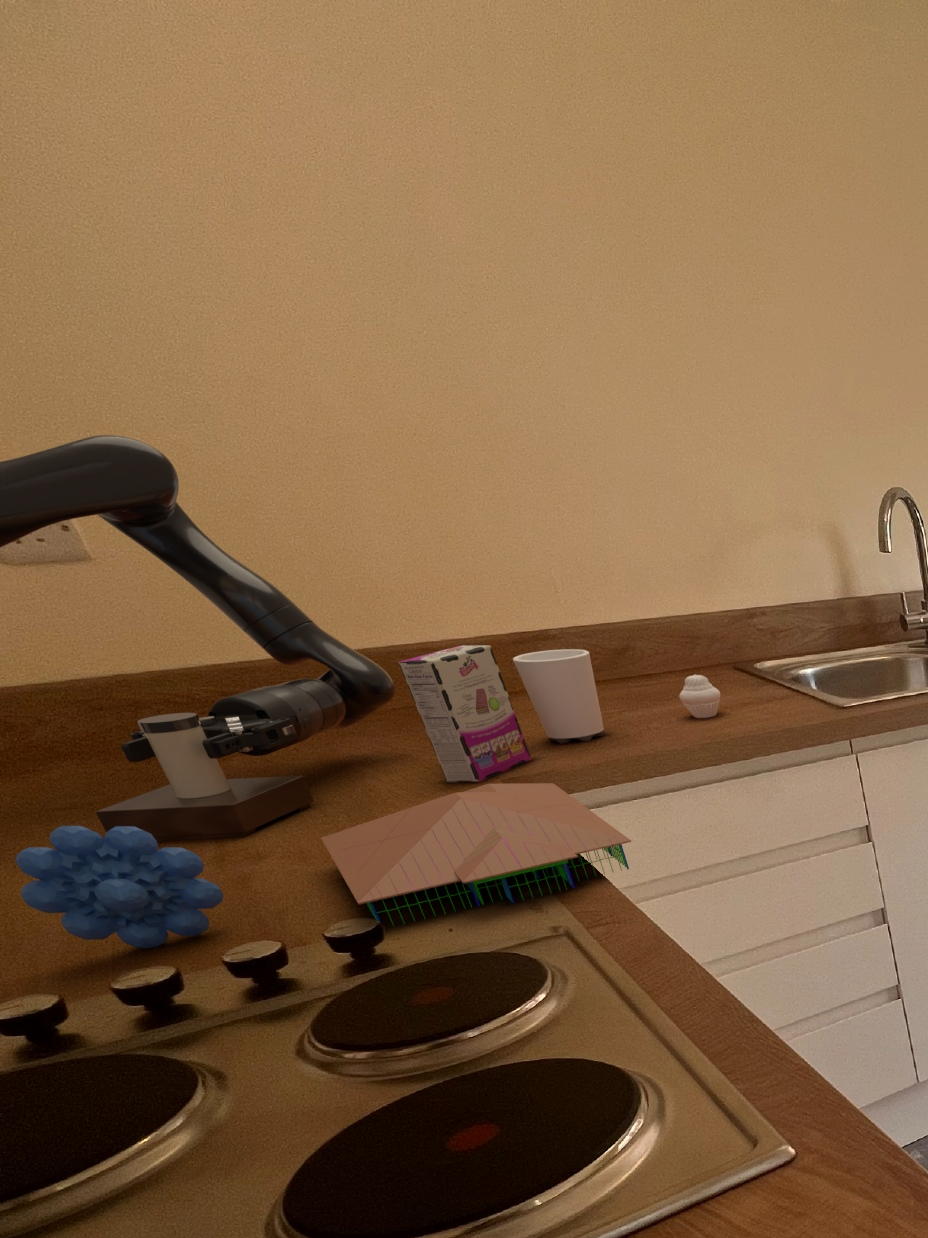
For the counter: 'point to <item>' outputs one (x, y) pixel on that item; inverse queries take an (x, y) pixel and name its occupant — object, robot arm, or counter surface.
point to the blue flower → (118, 885)
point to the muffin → (700, 696)
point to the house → (470, 842)
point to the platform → (210, 809)
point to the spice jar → (184, 755)
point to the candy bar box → (466, 712)
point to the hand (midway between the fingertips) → (168, 751)
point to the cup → (562, 693)
